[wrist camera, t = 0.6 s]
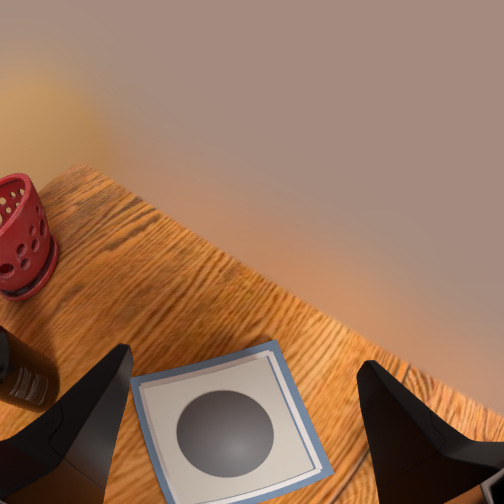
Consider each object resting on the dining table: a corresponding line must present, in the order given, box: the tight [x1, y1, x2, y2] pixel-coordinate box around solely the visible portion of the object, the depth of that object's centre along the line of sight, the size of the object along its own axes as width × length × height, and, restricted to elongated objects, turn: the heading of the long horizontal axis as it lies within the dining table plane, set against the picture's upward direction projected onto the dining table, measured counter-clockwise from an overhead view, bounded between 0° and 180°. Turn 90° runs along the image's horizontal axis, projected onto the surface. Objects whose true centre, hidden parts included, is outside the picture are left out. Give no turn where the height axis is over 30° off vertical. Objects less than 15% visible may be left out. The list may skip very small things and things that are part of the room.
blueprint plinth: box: [130, 339, 334, 504], centre depth 18 cm, size 14×14×4 cm
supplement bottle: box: [0, 325, 59, 413], centre depth 15 cm, size 7×7×12 cm
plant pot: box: [0, 173, 58, 301], centre depth 24 cm, size 13×13×12 cm
